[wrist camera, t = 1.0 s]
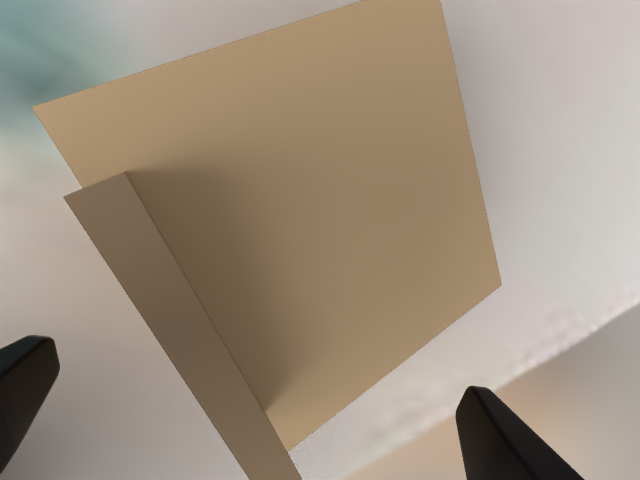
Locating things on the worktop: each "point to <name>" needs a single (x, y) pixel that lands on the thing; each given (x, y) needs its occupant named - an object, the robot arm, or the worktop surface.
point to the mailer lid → (287, 212)
